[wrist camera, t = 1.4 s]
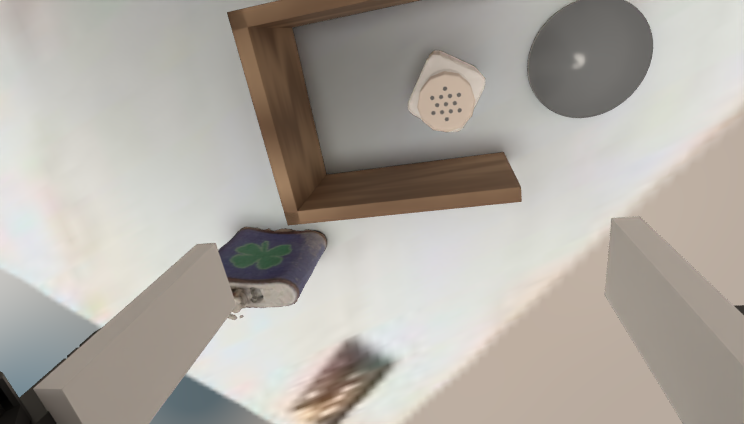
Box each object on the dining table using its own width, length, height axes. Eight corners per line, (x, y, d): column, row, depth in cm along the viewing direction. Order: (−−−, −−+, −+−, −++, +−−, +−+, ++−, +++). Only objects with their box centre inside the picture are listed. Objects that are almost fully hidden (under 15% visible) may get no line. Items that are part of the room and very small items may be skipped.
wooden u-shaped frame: (276, 16, 31) (227, 12, 24) (493, -32, 28) (510, -54, 21) (318, 186, 36) (287, 225, 29) (504, 163, 33) (521, 201, 26)
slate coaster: (525, 10, 28) (527, 9, 28) (653, -15, 27) (658, -16, 26) (529, 123, 31) (530, 125, 31) (644, 107, 30) (648, 108, 29)
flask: (327, 229, 38) (287, 297, 29) (329, 256, 39) (292, 331, 30) (234, 224, 40) (168, 288, 30) (239, 250, 41) (176, 320, 31)
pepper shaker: (481, 69, 30) (496, 84, 22) (456, 118, 32) (461, 150, 24) (432, 46, 30) (428, 53, 22) (410, 97, 32) (398, 122, 24)
